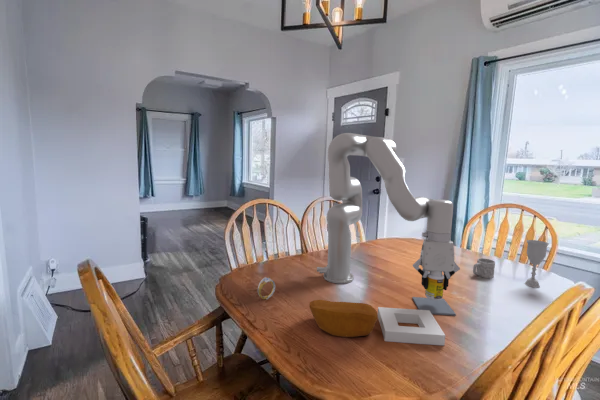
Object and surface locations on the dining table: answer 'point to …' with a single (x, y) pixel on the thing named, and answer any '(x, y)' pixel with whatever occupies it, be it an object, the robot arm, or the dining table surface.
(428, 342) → the pocket block
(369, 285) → the dining table surface
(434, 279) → the supplement bottle
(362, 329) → the bread
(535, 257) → the chalice
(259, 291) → the ring
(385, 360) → the dining table surface
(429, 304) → the slate mat
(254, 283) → the dining table surface
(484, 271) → the mug
